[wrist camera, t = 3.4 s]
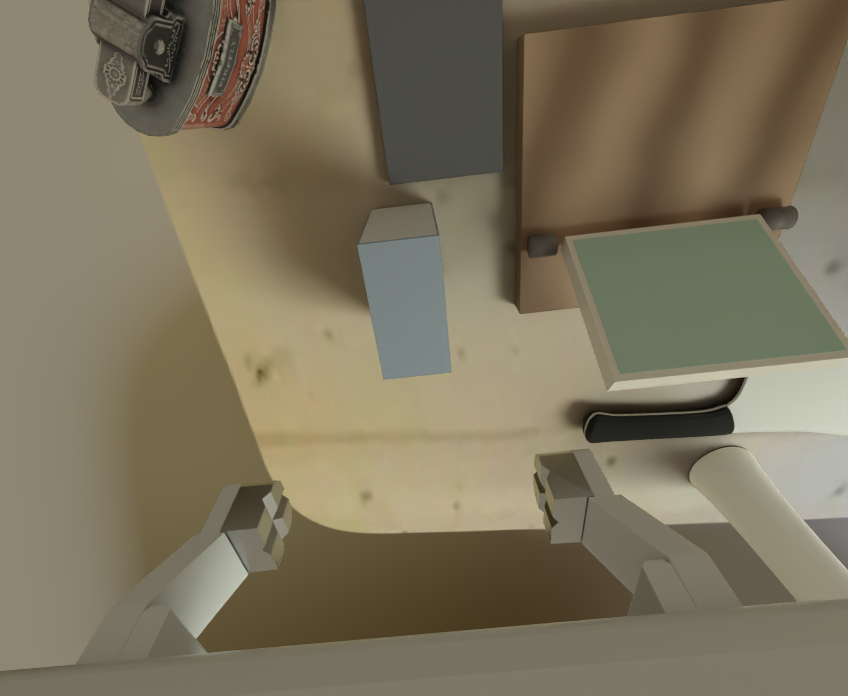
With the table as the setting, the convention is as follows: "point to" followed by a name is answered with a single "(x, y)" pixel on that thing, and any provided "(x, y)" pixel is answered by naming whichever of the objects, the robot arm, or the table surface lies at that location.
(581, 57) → the hinge board
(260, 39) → the lighter
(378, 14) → the pad
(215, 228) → the table surface
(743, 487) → the cosmetic bottle
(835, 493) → the table surface
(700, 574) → the robot arm
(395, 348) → the grey rectangular prism
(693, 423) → the kitchen cleaver
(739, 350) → the tile
